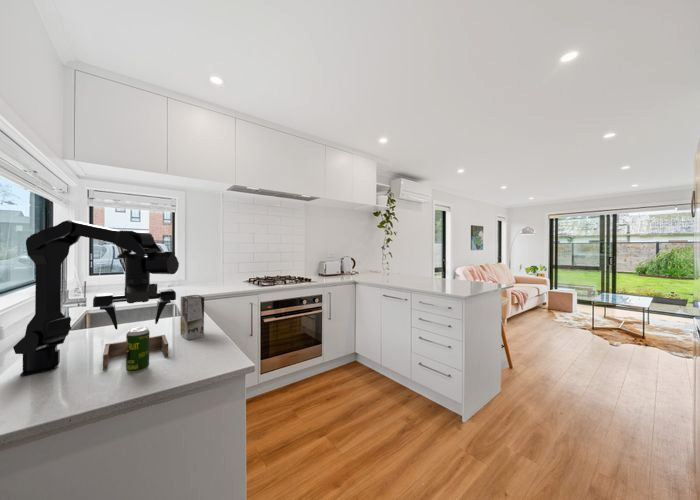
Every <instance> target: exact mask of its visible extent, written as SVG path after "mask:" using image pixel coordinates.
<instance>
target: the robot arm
mask: <svg viewBox="0 0 700 500" xmlns="http://www.w3.org/2000/svg"><path fill="white" fill-rule="evenodd" d="M81 237H84V238H89V239H93V240H98V241H103V242H108V243H111V244H113V245H115V246H116V247H117V248H120V249H123V252H121V253H120V254H119V255H117V256H116V257H117V259H125V261H124V262H125V263H124V265H125V266H124V268H125V269H124V270H125V273H124V274H125V276H124V294H123V295H122V294H121V295H114V293H113V292H111V293H110V292H108V293H97V294H96V295H94V297H93V300H92V307H93V308H99V310H103V311H105V312H106V313H107V315H108V316H109V318H110V320H111V322H112V325H113V326H114V329H115V330H118V325H119V324H118V318H117V317H118V316H117V310H116V304H115V303H121V302H126V303H127V304H134V303H147V302H149V301H150V300H157V303H156V310H155V316H154V317H155V318H154V324H155V325H157V324H158V322H159V319H160V317H161V315H162V312H163V311H164V308H165V307H166V305H167V304H170V303H172V301H176V300H177V294H176V291H175V290H174V289H172V288H168V289H167V288H166V289H159V291H158V283H150V281H151V277H150V276H151V274H152V275H175V274H176V273H177V272H178V270H179V266H180V262H179V260H178V257H177V256H176V255H175V253H176V252H175V251H162V249H161V248H160V247H159V245H158V244H157V242H155V238H154V236H153V234H151V232H147V231H138V230H137V231H136V230H118V229H115V228H109V227H106V226H105V227H104V226H101V225H95V224H91V223H85V222H84V221H80V220H79V221H77V220H70V219H68V220H64V221H61V222H60V223H58V224H57V225H54V226H51V227H48V228H45V229H42V230H40V231H38V232H36V233H33V234H31V235H29V237H27V238H26V240H25V248H26V254H27V256H28V257H29V259H30V260H31V261H32V262H33V263H34V264H35V265H34V266H35V291H34V292H35V293H34V294H35V296H34V298H35V300H34V301H35V304H34V305H35V307H34V308H35V309H34V312H35V313H34V316H32V318H31V320H30V321H29V322H28V324H27V326H26V329H25V335H24V336H23V337H22V338H21V339H20V340H18V342H17V343H16V344H15V345H14V346H13V347H12V349H13V351H14V354H15V355H22V372H21V373H20V375H19V376H20V377H23V376H24V377H25V376H30V375H34V374H35V375H36V374H40V373H45V372H50V371H54V370H56V368H57V366H58V365H60V363H61V349H59V348H58V346H59V345H62V344H64V342H65V340H66V338H67V336H68V335H70V331H71V330H72V327H71V321H72V318H71V316H65V315H64V313H63V312H62V308H61V307H62V306H61V305H62V296H61V295H62V264H63V262H64V261H65V259H66V258H67V257H68V255H69V252H70V248H71V247H72V246H73V245H75V244H76V243H78V242H79V240H80V238H81Z"/></svg>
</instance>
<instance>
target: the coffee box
mask: <svg viewBox="0 0 700 500" xmlns="http://www.w3.org/2000/svg"><path fill="white" fill-rule="evenodd" d="M204 326H205V297H204V296H202V295H199V294H191V295H185V296H180V336H181V337H183V338H184V339H185V340H187V341H188V340H193V339H194V340H195V339H198V338H203V337H204V335H205V333H204V332H205V330H204V329H205V327H204Z"/></svg>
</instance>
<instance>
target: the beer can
mask: <svg viewBox="0 0 700 500" xmlns="http://www.w3.org/2000/svg"><path fill="white" fill-rule="evenodd" d="M150 335H151V334H150V330H149V327H148V326H139V327H133V328H131V329H128V330H127V333H126V334H125V337H126V339H125V341H126V355H125V370H126V372H127V374H133V375H134V374H139V373H142V372H144V371H146V370H148V368H149V366H150V351H149V337H150Z"/></svg>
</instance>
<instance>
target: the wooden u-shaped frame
mask: <svg viewBox="0 0 700 500" xmlns="http://www.w3.org/2000/svg"><path fill="white" fill-rule="evenodd" d="M155 350H161V351H162V355H163V357H164V358H168V357H169V342H168V340H167V336H166V335H165V334H161V335H156V336H155V335H154V336H149V352H150V351H155ZM121 356H126V340H123V341H119V342H112V343H106V344H105V345H104V349H103V354H102V370H103V371H104V370H108V368H109V361H110V359H111V358H116V357H121Z"/></svg>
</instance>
